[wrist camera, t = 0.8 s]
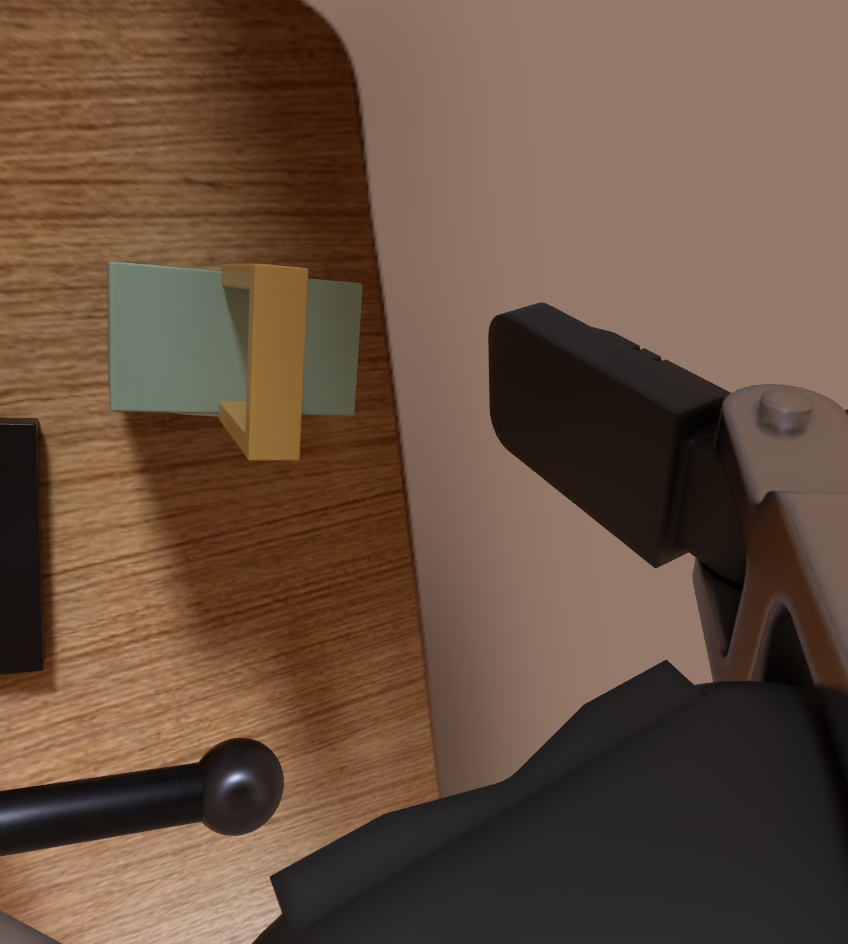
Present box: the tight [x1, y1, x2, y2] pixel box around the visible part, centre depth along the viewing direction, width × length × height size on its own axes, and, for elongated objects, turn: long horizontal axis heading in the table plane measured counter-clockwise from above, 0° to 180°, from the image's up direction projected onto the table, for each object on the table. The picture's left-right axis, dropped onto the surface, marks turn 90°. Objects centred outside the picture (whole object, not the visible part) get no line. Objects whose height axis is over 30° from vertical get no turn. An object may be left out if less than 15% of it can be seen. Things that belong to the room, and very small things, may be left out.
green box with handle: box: [107, 262, 362, 461], centre depth 24 cm, size 5×7×15 cm, turn 85°
